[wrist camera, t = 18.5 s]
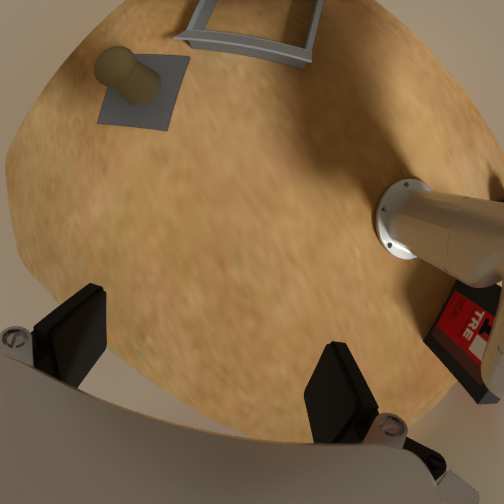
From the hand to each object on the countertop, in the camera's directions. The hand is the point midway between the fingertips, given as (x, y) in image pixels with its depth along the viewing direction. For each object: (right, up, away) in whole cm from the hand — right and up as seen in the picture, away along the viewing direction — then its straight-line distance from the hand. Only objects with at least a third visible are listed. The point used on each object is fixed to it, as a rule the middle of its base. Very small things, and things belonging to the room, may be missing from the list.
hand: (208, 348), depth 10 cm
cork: (-14, +28, +22) cm, 38 cm away
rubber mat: (-14, +28, +22) cm, 38 cm away
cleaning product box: (+42, -8, +32) cm, 54 cm away
